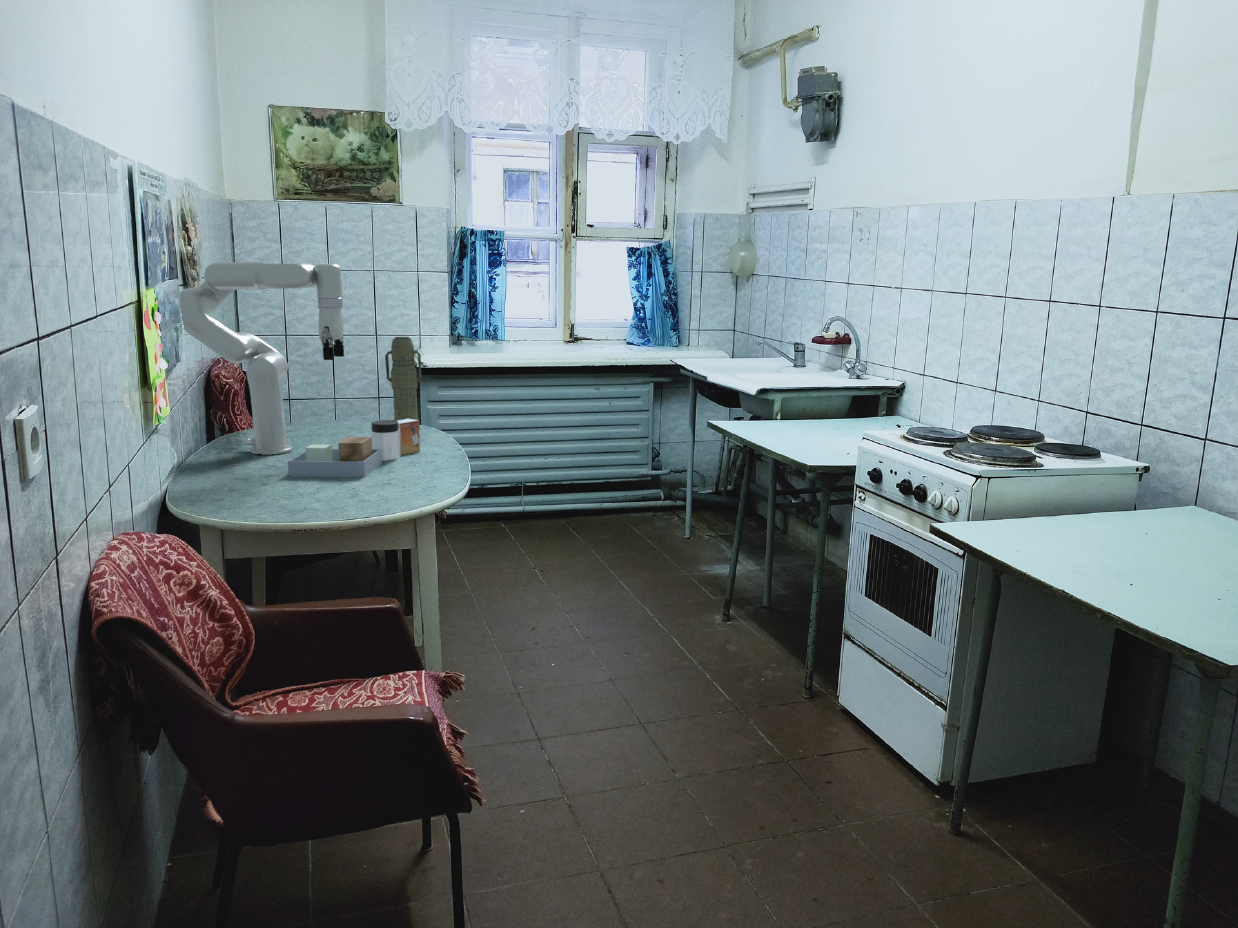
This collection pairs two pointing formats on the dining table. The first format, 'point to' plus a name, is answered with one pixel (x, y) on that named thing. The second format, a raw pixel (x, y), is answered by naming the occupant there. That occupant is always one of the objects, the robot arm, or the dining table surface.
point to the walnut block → (355, 448)
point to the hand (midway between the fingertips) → (334, 358)
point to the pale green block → (318, 452)
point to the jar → (386, 438)
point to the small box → (409, 436)
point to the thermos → (404, 378)
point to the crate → (334, 466)
